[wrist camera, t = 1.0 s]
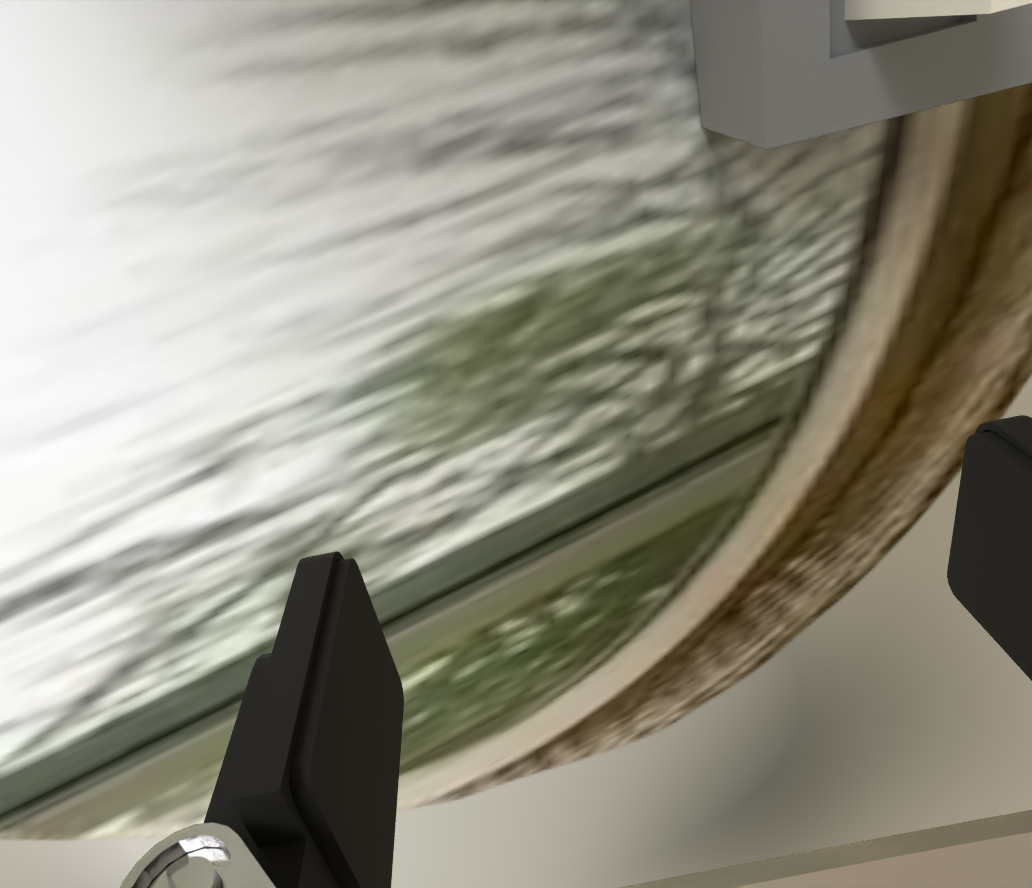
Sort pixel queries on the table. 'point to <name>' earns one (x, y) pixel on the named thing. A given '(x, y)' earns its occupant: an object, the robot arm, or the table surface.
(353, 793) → the robot arm
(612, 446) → the table surface
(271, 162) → the table surface
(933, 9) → the plug
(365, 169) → the table surface
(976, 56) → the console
